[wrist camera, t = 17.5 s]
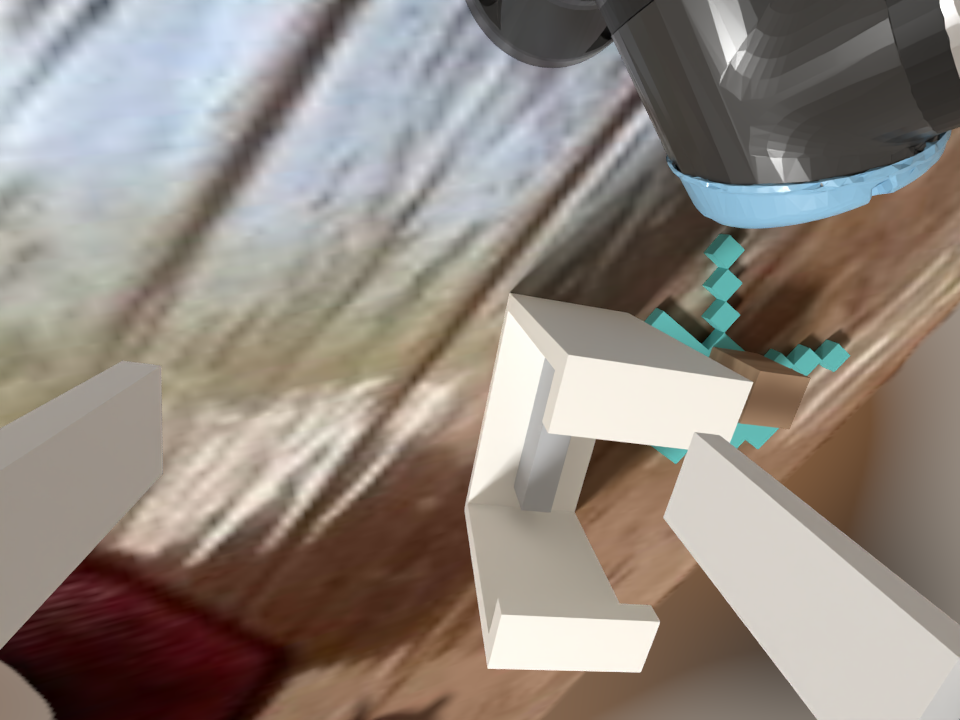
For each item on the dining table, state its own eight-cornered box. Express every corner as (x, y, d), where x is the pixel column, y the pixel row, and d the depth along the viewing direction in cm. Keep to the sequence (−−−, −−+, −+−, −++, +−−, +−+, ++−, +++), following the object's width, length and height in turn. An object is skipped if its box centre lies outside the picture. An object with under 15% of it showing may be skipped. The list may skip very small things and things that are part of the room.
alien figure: (715, 233, 46) (580, 390, 49) (729, 235, 43) (587, 399, 47) (832, 349, 51) (703, 481, 55) (850, 355, 49) (715, 493, 53)
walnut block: (712, 346, 47) (760, 371, 40) (756, 353, 48) (810, 378, 41) (696, 392, 48) (740, 423, 42) (740, 398, 49) (789, 429, 43)
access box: (509, 292, 44) (568, 354, 27) (627, 312, 46) (753, 382, 29) (464, 509, 51) (487, 668, 34) (568, 517, 53) (640, 672, 36)
